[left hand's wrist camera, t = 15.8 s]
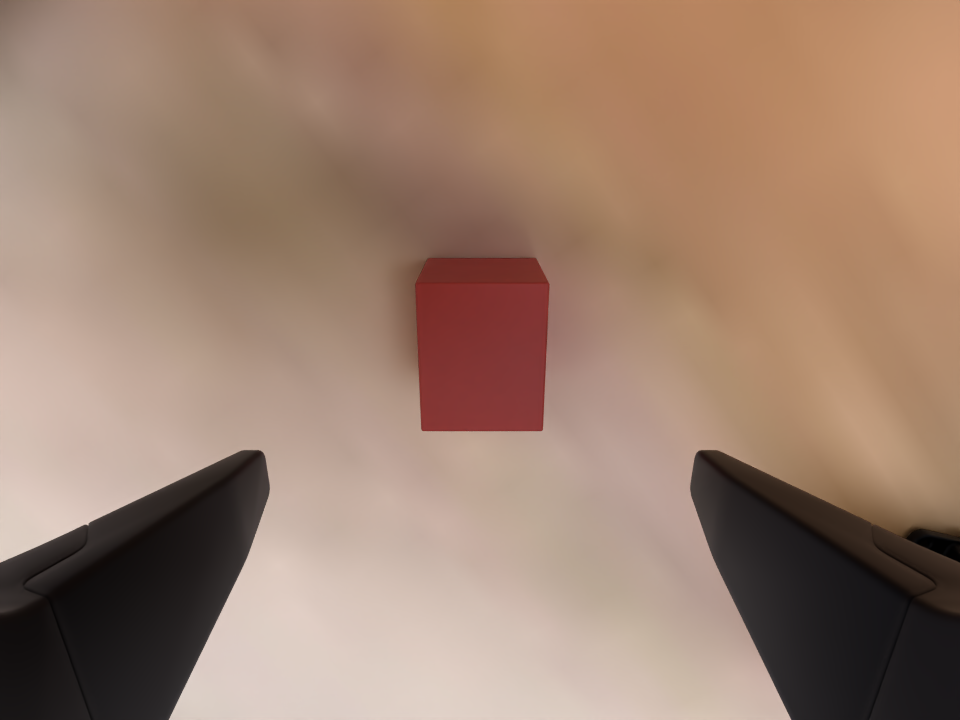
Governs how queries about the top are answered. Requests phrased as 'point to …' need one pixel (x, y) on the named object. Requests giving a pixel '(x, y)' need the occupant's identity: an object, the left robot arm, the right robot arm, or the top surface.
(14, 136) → the top surface
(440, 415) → the brick
